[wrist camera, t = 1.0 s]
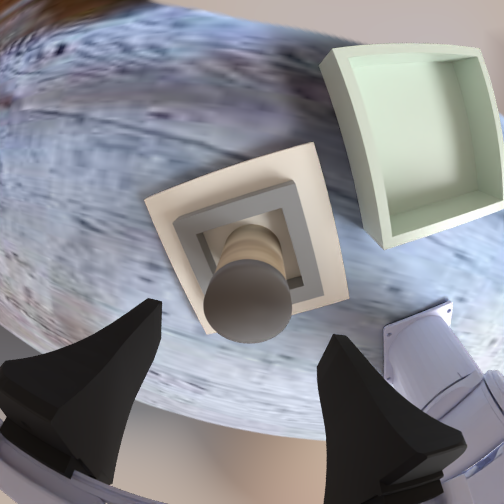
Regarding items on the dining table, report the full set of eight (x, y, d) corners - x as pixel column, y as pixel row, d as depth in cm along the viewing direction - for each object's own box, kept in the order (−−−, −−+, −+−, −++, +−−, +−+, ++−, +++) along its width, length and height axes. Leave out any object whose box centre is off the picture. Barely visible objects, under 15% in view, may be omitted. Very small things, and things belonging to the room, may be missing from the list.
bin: (479, 194, 18) (507, 207, 14) (363, 229, 20) (383, 250, 16) (451, 56, 13) (479, 48, 9) (318, 65, 15) (332, 48, 11)
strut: (289, 269, 20) (300, 332, 13) (234, 284, 20) (222, 349, 14) (273, 215, 18) (278, 259, 12) (213, 233, 19) (189, 284, 12)
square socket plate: (345, 290, 22) (354, 309, 19) (208, 325, 23) (203, 346, 21) (310, 142, 17) (318, 142, 15) (150, 196, 19) (134, 204, 17)
